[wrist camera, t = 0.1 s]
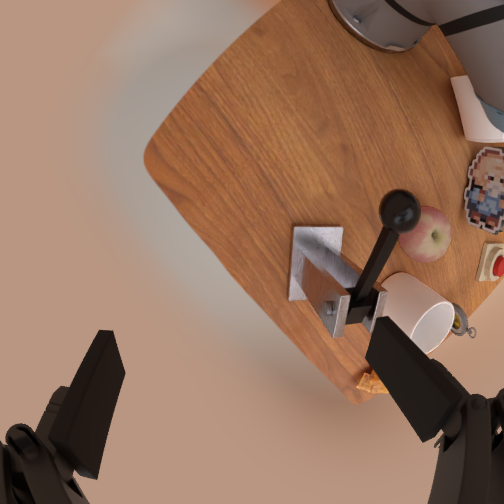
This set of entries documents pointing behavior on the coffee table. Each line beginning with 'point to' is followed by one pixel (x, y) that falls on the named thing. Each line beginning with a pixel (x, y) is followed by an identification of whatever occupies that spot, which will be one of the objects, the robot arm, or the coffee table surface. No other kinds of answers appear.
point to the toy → (486, 191)
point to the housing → (489, 261)
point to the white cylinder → (473, 113)
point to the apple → (427, 236)
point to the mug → (418, 310)
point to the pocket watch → (460, 322)
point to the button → (498, 266)
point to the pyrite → (371, 383)
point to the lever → (383, 247)
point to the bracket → (327, 276)
